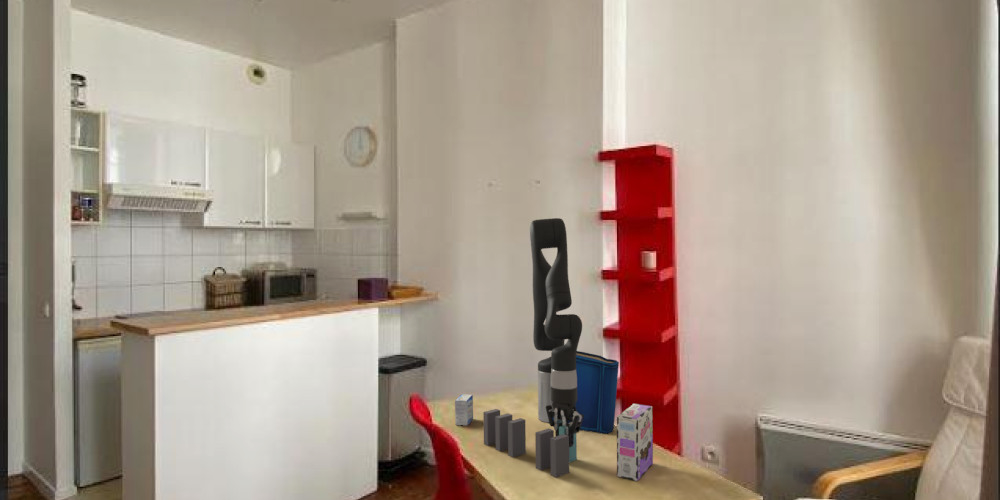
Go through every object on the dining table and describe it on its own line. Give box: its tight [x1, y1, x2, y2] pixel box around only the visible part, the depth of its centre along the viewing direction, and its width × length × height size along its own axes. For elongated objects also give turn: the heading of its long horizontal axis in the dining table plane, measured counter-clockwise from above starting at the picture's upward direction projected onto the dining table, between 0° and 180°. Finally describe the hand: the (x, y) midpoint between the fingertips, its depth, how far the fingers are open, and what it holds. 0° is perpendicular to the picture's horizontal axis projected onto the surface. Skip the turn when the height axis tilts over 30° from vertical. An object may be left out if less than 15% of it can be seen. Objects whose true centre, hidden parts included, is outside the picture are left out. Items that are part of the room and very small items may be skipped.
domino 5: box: [559, 426, 578, 463], centre depth 160 cm, size 5×2×10 cm, turn 128°
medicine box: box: [454, 394, 474, 427], centre depth 195 cm, size 8×4×9 cm, turn 168°
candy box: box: [616, 403, 654, 482], centre depth 153 cm, size 14×6×16 cm, turn 148°
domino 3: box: [507, 417, 527, 458], centre depth 165 cm, size 5×2×10 cm, turn 128°
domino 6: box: [550, 434, 570, 479], centre depth 151 cm, size 5×2×10 cm, turn 128°
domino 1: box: [483, 408, 501, 447], centre depth 174 cm, size 5×2×10 cm, turn 128°
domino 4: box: [534, 427, 555, 471], centre depth 156 cm, size 5×2×10 cm, turn 128°
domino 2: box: [495, 412, 513, 452], centre depth 170 cm, size 5×2×10 cm, turn 128°
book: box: [552, 350, 620, 435], centre depth 188 cm, size 22×7×25 cm, turn 58°
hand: (564, 444), depth 160 cm, fingers open, 3 cm apart
